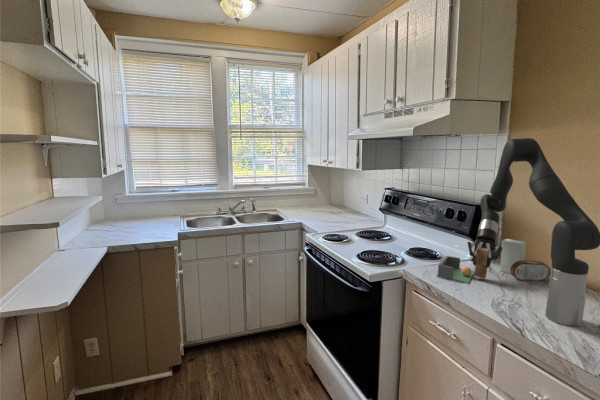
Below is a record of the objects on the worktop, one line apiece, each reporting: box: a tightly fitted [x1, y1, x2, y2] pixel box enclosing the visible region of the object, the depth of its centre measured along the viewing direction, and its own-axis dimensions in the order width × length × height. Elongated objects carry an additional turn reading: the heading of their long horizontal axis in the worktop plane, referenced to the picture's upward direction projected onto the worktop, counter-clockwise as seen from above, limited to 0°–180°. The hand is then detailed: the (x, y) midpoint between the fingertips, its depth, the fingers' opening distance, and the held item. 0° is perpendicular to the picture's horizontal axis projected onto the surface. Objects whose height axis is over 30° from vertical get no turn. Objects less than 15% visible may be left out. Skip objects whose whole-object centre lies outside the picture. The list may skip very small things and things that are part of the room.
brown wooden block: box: [474, 247, 489, 279], centre depth 143 cm, size 4×4×12 cm
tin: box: [510, 260, 551, 282], centre depth 143 cm, size 15×3×8 cm, turn 84°
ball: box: [460, 266, 472, 276], centre depth 147 cm, size 4×4×4 cm
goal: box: [435, 255, 475, 284], centre depth 149 cm, size 13×16×5 cm
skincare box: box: [499, 238, 527, 275], centre depth 151 cm, size 8×6×15 cm
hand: (480, 265), depth 142 cm, fingers closed on brown wooden block, 4 cm apart
